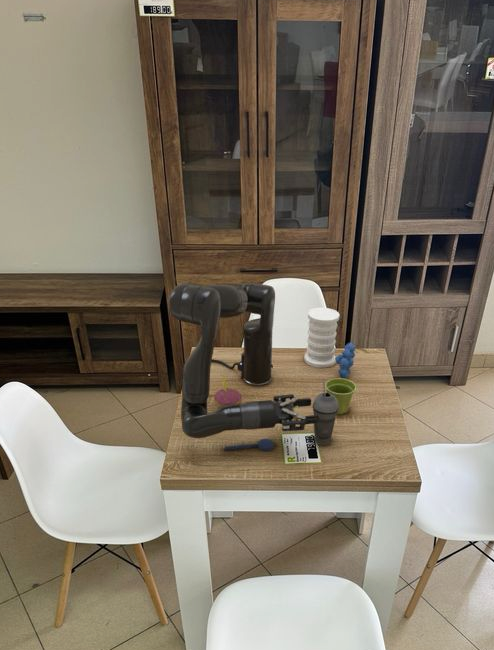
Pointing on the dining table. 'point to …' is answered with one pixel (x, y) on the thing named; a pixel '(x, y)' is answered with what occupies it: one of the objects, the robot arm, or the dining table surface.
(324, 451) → the dining table surface
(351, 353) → the grapes
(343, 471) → the dining table surface
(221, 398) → the cupcake
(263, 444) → the spoon
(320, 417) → the beverage cup
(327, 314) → the decorative container
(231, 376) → the dining table surface
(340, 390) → the plant pot
